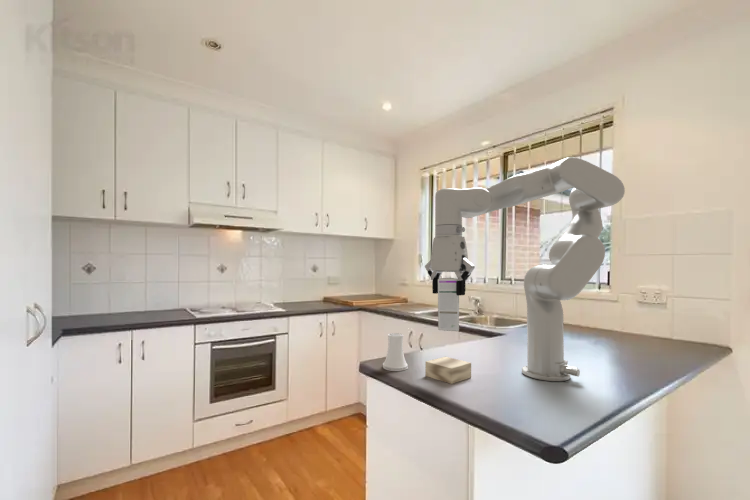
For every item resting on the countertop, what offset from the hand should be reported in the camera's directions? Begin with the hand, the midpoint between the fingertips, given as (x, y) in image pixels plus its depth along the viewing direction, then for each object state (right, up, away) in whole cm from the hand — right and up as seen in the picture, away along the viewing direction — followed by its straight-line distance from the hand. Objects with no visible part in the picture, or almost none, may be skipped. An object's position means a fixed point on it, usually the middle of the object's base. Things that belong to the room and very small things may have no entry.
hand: (448, 293), depth 103 cm
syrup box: (0, -10, -1) cm, 10 cm away
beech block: (0, -23, -1) cm, 23 cm away
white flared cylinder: (-15, -24, +7) cm, 29 cm away
